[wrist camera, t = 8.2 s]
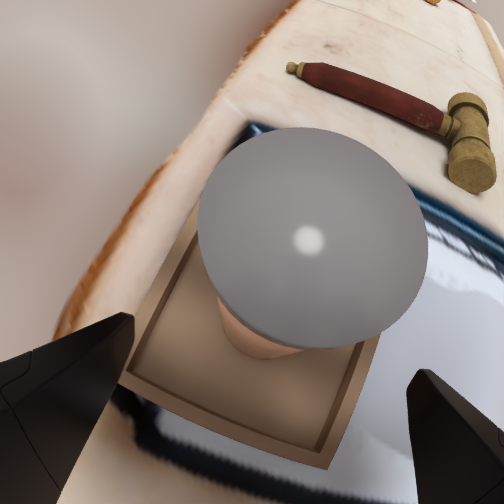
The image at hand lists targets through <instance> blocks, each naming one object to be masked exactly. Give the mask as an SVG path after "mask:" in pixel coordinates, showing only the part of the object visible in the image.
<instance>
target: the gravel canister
mask: <svg viewBox="0 0 504 504" xmlns="http://www.w3.org/2000/svg"><path fill="white" fill-rule="evenodd" d="M197 230H198V240H199V246H200V250H201V255H202V259H203V263H204V267H205V271H206V274H207V277H208V279H209V281H210V284H211V286H212V288H213V290H214V291H215V293H216V295H217V298H218V304H219V310H220V316H221V321H222V326H223V330H224V332H225V335H226V337H227V338H228V340H229V341H230V343H231V344H232V345H233V346H234V347H235V348H236V349H237V350H239V351H240V352H241V353H243V354H245V355H247V356H249V357H252V358H256V359H262V360H269V359H276V358H280V357H283V356H286V355H290V354H293V353H297V352H300V351H303V350H313V351H316V350H329V349H334V348H338V347H343V346H347V345H351V344H354V343H358V342H361V341H364V340H366V339H369V338H371V337H373V336H376V335H377V334H379V333H381V332H382V331H384V330H386V329H387V328H389V327H390V326H391V325H392V324H393V323H395V322H396V321H397V320H398V319H400V317H401V316H402V315H403V314H404V313H405V312H406V311H407V309H408V308H409V307H410V305H411V304H412V302H413V301H414V299H415V298H416V296H417V294H418V292H419V289H420V287H421V285H422V282H423V279H424V275H425V272H426V267H427V260H428V239H427V231H426V226H425V222H424V218H423V215H422V212H421V210H420V207H419V204H418V202H417V200H416V198H415V196H414V195H413V193H412V191H411V189H410V188H409V186H408V185H407V183H406V182H405V180H404V179H403V178H402V177H401V176H400V174H399V173H398V172H397V171H396V170H395V169H394V168H393V167H392V166H391V165H390V164H389V163H388V162H387V161H386V160H385V159H384V158H382V157H381V156H380V155H379V154H377V153H376V152H375V151H373V150H372V149H370V148H368V147H367V146H365V145H363V144H362V143H360V142H358V141H356V140H354V139H351V138H349V137H346V136H344V135H341V134H338V133H335V132H331V131H327V130H322V129H316V128H286V129H279V130H274V131H270V132H267V133H263V134H261V135H258V136H256V137H253V138H251V139H249V140H247V141H246V142H244V143H242V144H240V145H239V146H238V147H236V148H235V149H234V150H232V151H231V152H230V153H229V154H228V155H227V156H226V157H225V158H224V159H223V160H222V161H221V162H220V163H219V164H218V165H217V167H216V168H215V170H214V171H213V172H212V174H211V176H210V177H209V179H208V181H207V183H206V185H205V188H204V190H203V193H202V196H201V199H200V204H199V209H198V221H197Z"/></svg>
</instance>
